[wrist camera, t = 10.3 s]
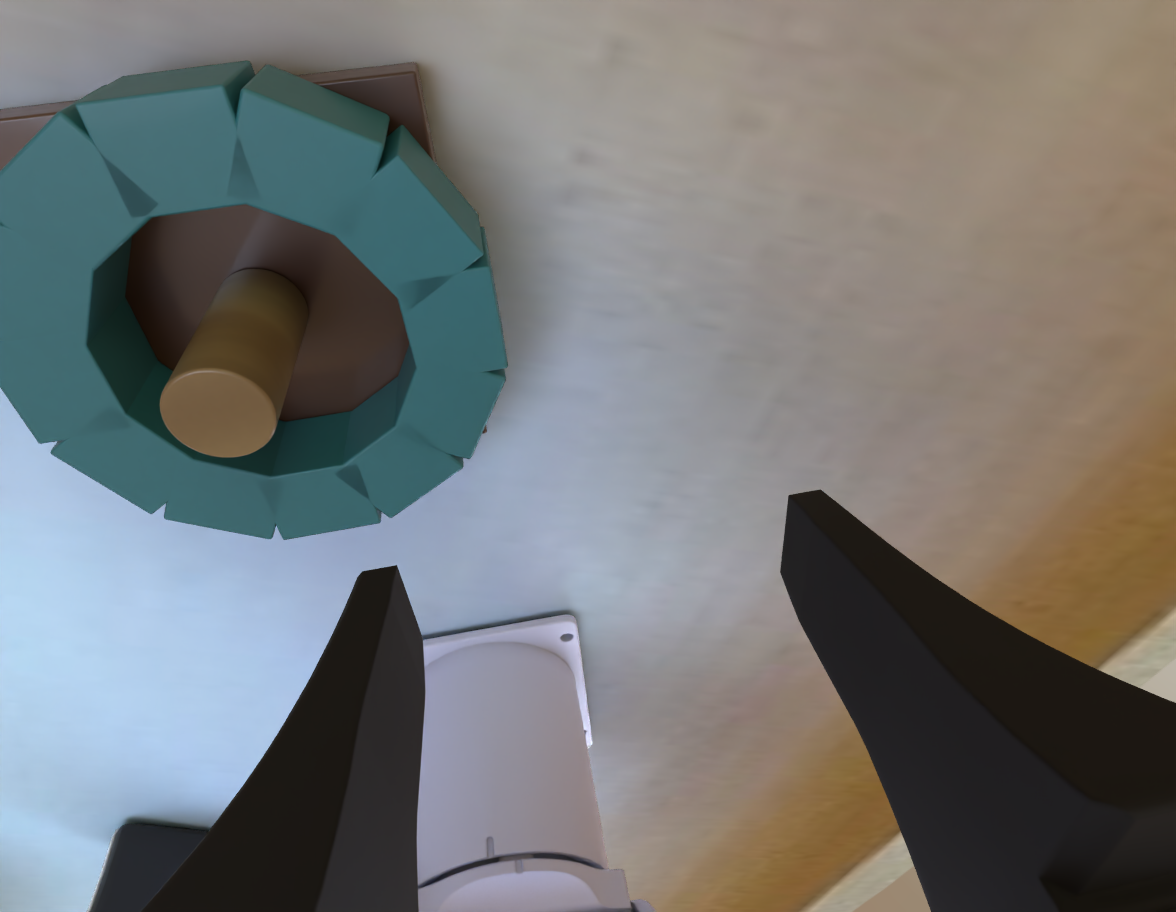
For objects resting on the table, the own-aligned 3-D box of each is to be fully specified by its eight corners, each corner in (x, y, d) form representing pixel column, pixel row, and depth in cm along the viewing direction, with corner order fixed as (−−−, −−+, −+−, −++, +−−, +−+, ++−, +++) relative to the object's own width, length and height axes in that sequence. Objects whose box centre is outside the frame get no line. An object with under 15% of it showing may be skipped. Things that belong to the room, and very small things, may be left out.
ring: (522, 443, 23) (531, 497, 21) (153, 506, 22) (124, 568, 20) (449, 34, 16) (451, 54, 14) (-94, 102, 15) (-176, 135, 13)
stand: (485, 412, 23) (498, 547, 18) (160, 462, 22) (85, 618, 18) (416, 61, 17) (410, 126, 12) (-34, 112, 16) (-232, 204, 11)
